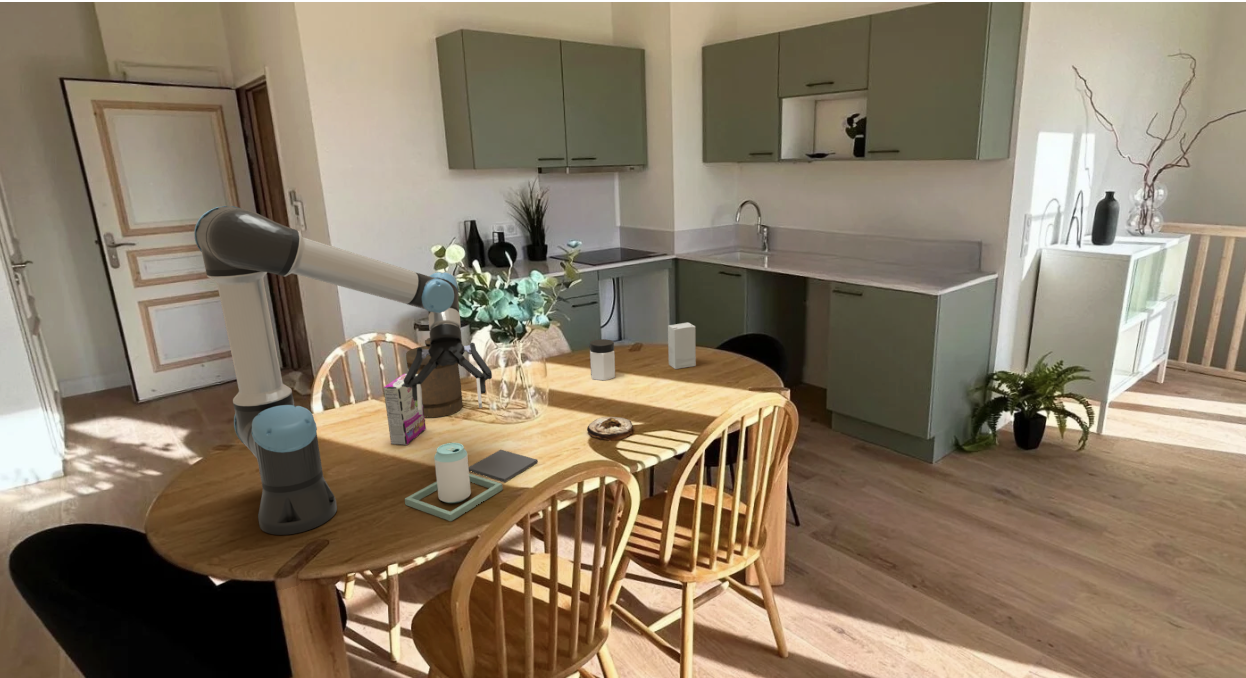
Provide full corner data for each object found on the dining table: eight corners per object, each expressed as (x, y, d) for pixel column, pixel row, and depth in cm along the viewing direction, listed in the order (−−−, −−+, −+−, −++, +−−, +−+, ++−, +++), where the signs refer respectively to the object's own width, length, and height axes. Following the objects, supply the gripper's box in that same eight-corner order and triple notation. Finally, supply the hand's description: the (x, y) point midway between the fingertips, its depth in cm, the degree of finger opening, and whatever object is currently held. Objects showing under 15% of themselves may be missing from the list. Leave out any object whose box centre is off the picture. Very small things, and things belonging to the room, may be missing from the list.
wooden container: (421, 400, 215) (413, 332, 209) (468, 399, 215) (462, 331, 209) (405, 418, 201) (396, 345, 195) (455, 417, 201) (448, 345, 195)
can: (471, 488, 158) (467, 439, 155) (470, 503, 152) (465, 452, 148) (440, 491, 157) (434, 442, 154) (437, 506, 151) (432, 456, 147)
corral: (450, 521, 144) (450, 515, 144) (405, 504, 152) (404, 498, 151) (502, 489, 157) (502, 483, 157) (458, 475, 165) (457, 470, 164)
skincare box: (688, 362, 247) (688, 321, 243) (696, 366, 242) (696, 325, 238) (667, 365, 244) (667, 324, 240) (674, 369, 239) (674, 328, 235)
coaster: (504, 482, 161) (504, 479, 161) (467, 470, 167) (467, 467, 167) (537, 462, 171) (537, 459, 170) (501, 452, 177) (500, 449, 177)
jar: (606, 370, 239) (605, 337, 236) (620, 376, 233) (619, 342, 230) (585, 376, 234) (583, 342, 231) (599, 382, 228) (597, 347, 225)
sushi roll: (571, 437, 186) (571, 423, 185) (602, 419, 198) (602, 405, 197) (618, 448, 178) (617, 433, 177) (647, 428, 191) (647, 414, 190)
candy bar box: (410, 428, 194) (403, 372, 189) (426, 429, 193) (420, 373, 188) (389, 444, 183) (382, 386, 179) (406, 446, 182) (399, 387, 178)
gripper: (496, 333, 176) (505, 409, 166) (394, 342, 171) (397, 421, 161) (496, 318, 170) (504, 396, 160) (390, 327, 165) (392, 408, 155)
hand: (450, 409), depth 160 cm, fingers open, 13 cm apart
